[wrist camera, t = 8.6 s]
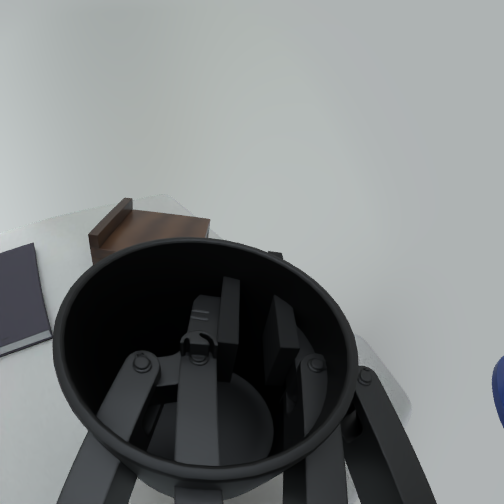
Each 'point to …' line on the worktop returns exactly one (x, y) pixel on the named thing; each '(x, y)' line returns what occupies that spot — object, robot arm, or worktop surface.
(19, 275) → the notebook
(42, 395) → the worktop surface
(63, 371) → the mug
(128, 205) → the wooden stand
